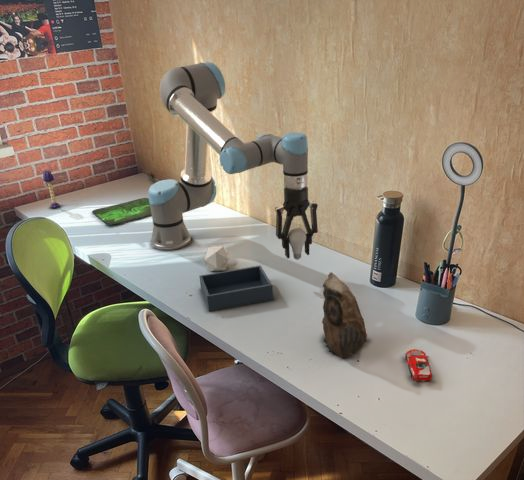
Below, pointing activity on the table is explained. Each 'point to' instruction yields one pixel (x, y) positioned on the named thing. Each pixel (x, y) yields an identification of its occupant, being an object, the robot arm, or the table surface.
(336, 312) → the owl
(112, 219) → the mouse mat
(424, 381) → the race car
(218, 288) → the tote
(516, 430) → the table surface
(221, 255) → the die
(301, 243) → the lightbulb
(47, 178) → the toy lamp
